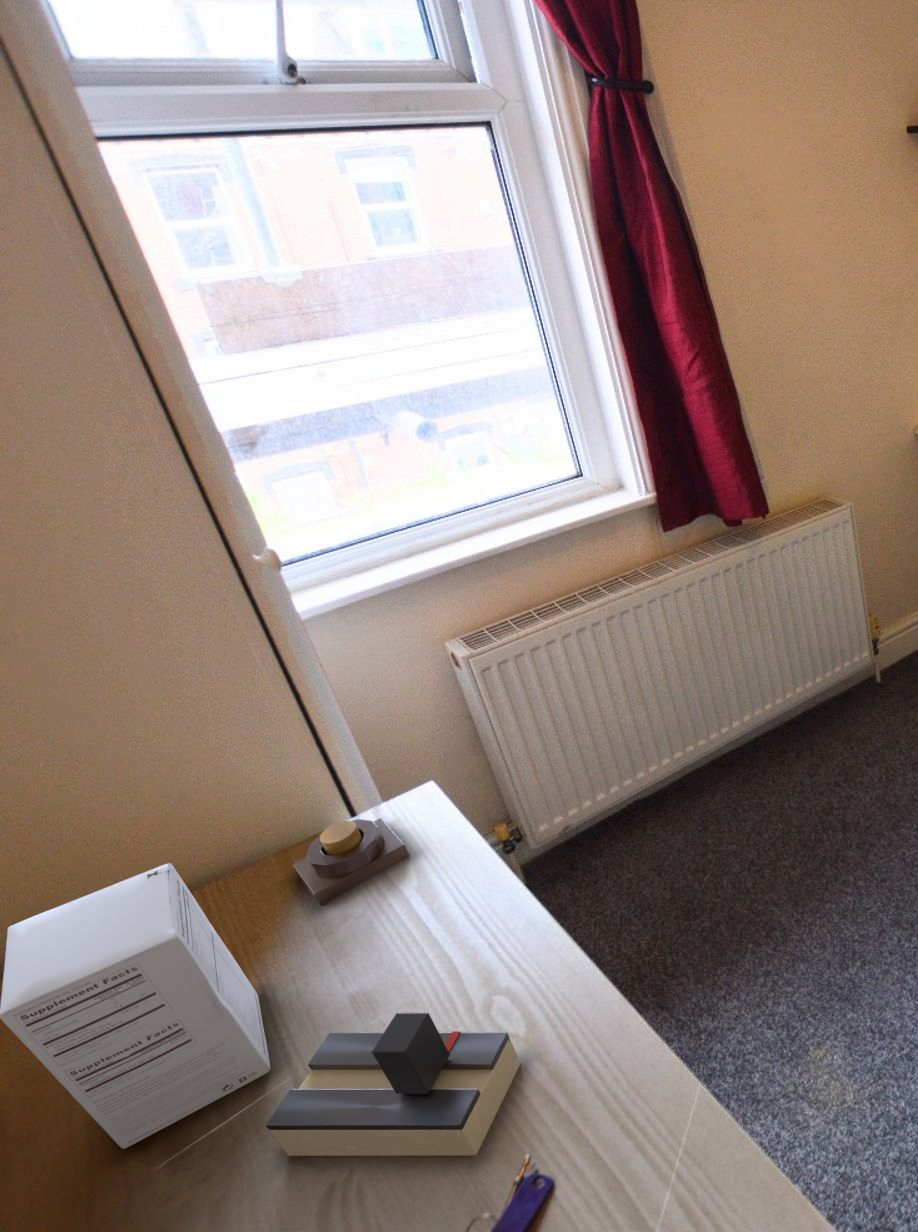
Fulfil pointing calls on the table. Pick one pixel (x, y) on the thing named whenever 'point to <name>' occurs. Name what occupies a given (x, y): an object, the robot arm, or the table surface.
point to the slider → (411, 1053)
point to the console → (395, 1100)
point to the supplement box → (134, 1004)
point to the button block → (350, 861)
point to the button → (340, 837)
